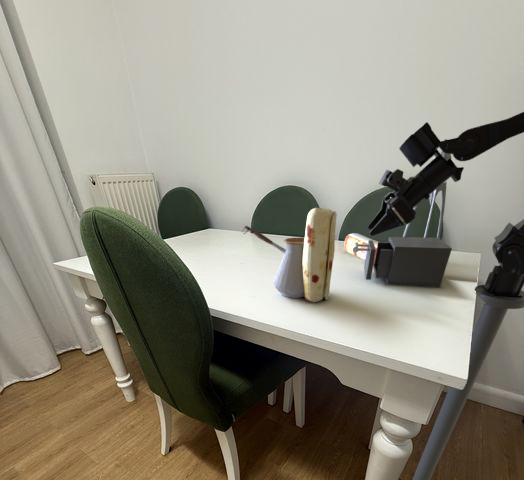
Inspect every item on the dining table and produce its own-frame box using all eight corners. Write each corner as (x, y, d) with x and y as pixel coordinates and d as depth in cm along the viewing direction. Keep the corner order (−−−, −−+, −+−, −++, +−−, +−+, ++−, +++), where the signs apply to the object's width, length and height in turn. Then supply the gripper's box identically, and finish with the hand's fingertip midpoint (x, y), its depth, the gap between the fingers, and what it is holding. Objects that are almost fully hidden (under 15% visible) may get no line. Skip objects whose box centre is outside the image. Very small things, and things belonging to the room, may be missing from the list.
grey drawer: (349, 278, 80) (353, 248, 75) (349, 266, 89) (352, 239, 85) (412, 281, 76) (420, 250, 72) (405, 269, 86) (411, 241, 81)
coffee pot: (325, 289, 75) (331, 228, 68) (305, 304, 67) (309, 236, 60) (258, 277, 86) (256, 222, 78) (234, 288, 78) (229, 229, 70)
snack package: (390, 266, 92) (395, 243, 88) (371, 267, 91) (375, 245, 87) (358, 251, 110) (361, 232, 106) (342, 252, 108) (344, 233, 105)
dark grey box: (387, 284, 77) (395, 246, 72) (382, 270, 88) (389, 236, 83) (439, 287, 75) (452, 248, 69) (428, 272, 85) (438, 237, 80)
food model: (307, 290, 75) (312, 204, 65) (333, 293, 73) (343, 205, 62) (296, 304, 68) (300, 210, 57) (324, 308, 65) (333, 210, 55)
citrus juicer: (396, 259, 98) (419, 152, 82) (422, 257, 99) (450, 151, 83) (417, 269, 88) (447, 150, 73) (446, 266, 90) (482, 149, 74)
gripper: (399, 156, 75) (349, 204, 84) (412, 153, 60) (350, 212, 68) (424, 190, 78) (374, 233, 86) (443, 195, 62) (379, 247, 71)
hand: (369, 231), depth 78 cm, fingers open, 9 cm apart
